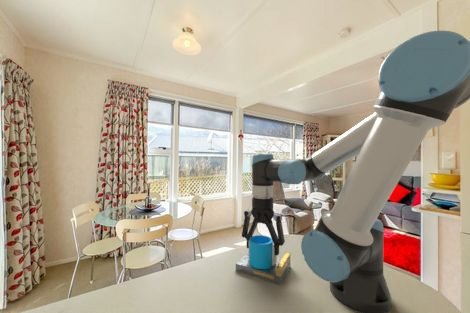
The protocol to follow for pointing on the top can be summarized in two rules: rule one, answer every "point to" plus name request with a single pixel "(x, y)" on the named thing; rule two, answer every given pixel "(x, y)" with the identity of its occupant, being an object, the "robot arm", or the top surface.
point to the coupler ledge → (270, 274)
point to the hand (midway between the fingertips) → (262, 260)
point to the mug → (260, 251)
